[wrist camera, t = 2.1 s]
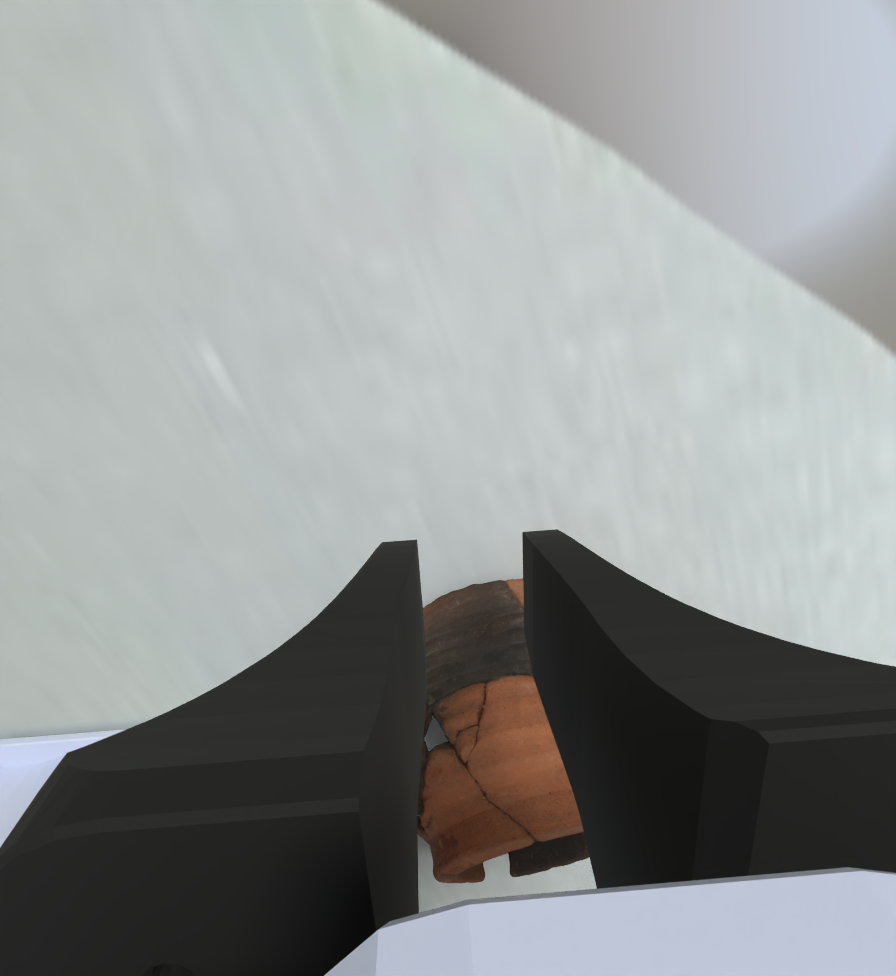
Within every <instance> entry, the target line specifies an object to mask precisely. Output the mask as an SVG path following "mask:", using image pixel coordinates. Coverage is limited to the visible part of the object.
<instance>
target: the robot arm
mask: <svg viewBox="0 0 896 976" xmlns="http://www.w3.org/2000/svg"><path fill="white" fill-rule="evenodd" d="M523 591H524V633H525V638H526V643H527V648H528V653H529V658H530V663H531V668H532V673H533V677H534V681H535V684H536V687H537V690H538V693H539V696H540V699H541V702H542V704H543V707H544V710H545V713H546V716H547V719H548V722H549V725H550V728H551V730H552V733H553V736H554V739H555V742H556V745H557V748H558V750H559V753H560V756H561V759H562V762H563V765H564V768H565V770H566V773H567V776H568V779H569V782H570V785H571V788H572V791H573V794H574V797H575V801H576V804H577V808H578V811H579V814H580V818H581V822H582V827H583V831H584V835H585V839H586V843H587V848H588V852H589V856H590V860H591V865H592V869H593V873H594V877H595V882H596V886H597V889H588V890H577V891H565V892H553V893H542V894H530V895H518V896H507V897H495V898H483V899H472V900H465V901H461V902H458V903H454V904H451V905H447V906H443V907H440V908H436V909H432V910H429V911H425V912H422V913H419V907H418V852H417V817H418V796H419V783H420V771H421V759H422V746H423V734H424V721H425V708H426V695H427V671H426V646H425V631H424V619H423V607H422V595H421V583H420V571H419V559H418V547H417V540H407V541H393V542H382V543H381V544H380V545H379V547H378V548H377V549H376V550H375V551H374V552H373V554H372V555H371V556H370V558H369V559H368V560H367V561H366V563H365V564H364V565H363V566H362V568H361V569H360V570H359V571H358V573H357V574H356V575H355V576H354V577H353V579H352V580H351V581H350V582H349V583H348V584H347V585H346V587H345V588H344V589H343V590H342V591H341V592H340V593H339V595H338V596H337V597H336V598H335V599H334V600H333V601H332V602H331V603H330V604H329V605H328V606H327V607H326V608H325V609H324V610H323V611H322V612H321V613H320V614H319V615H318V616H317V617H316V618H315V619H313V620H312V621H311V622H310V623H309V624H308V625H307V626H305V627H304V628H303V629H302V630H301V631H299V632H298V633H297V634H296V635H294V636H293V637H292V638H290V639H289V640H288V641H287V642H285V643H284V644H283V645H281V646H280V647H279V648H277V649H276V650H275V651H273V652H272V653H270V654H269V655H267V656H266V657H264V658H263V659H261V660H260V661H258V662H256V663H255V664H253V665H252V666H250V667H249V668H247V669H245V670H244V671H242V672H241V673H239V674H237V675H236V676H234V677H233V678H231V679H230V680H228V681H226V682H225V683H223V684H221V685H219V686H217V687H216V688H214V689H212V690H210V691H208V692H206V693H204V694H203V695H201V696H199V697H197V698H195V699H193V700H191V701H189V702H187V703H185V704H183V705H181V706H179V707H177V708H175V709H173V710H171V711H169V712H166V713H164V714H162V715H160V716H158V717H155V718H153V719H151V720H149V721H147V722H144V723H142V724H139V725H137V726H134V727H132V728H129V729H126V730H113V731H100V732H88V733H75V734H62V735H49V736H37V737H24V738H11V739H0V976H896V667H894V666H888V665H882V664H877V663H872V662H868V661H863V660H859V659H855V658H851V657H846V656H842V655H838V654H834V653H829V652H825V651H821V650H817V649H813V648H810V647H806V646H802V645H799V644H795V643H791V642H788V641H784V640H781V639H778V638H775V637H772V636H769V635H766V634H763V633H759V632H756V631H753V630H750V629H747V628H744V627H741V626H738V625H736V624H733V623H730V622H728V621H725V620H722V619H720V618H717V617H715V616H712V615H710V614H708V613H705V612H703V611H701V610H698V609H696V608H694V607H691V606H689V605H686V604H684V603H682V602H680V601H678V600H676V599H674V598H671V597H669V596H667V595H665V594H664V593H662V592H660V591H658V590H656V589H654V588H652V587H650V586H649V585H647V584H645V583H643V582H641V581H639V580H637V579H636V578H634V577H632V576H631V575H629V574H627V573H625V572H624V571H622V570H620V569H619V568H617V567H615V566H614V565H612V564H611V563H609V562H607V561H606V560H604V559H603V558H601V557H600V556H598V555H597V554H595V553H594V552H592V551H590V550H589V549H587V548H586V547H584V546H583V545H581V544H580V543H578V542H577V541H575V540H574V539H572V538H571V537H569V536H568V535H566V534H564V533H563V532H561V531H559V530H545V531H531V532H523Z"/></svg>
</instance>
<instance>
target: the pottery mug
mask: <svg viewBox="0 0 896 976" xmlns="http://www.w3.org/2000/svg"><path fill="white" fill-rule="evenodd" d="M423 619H424V631H425V646H426V671H427V695H426V708H425V721H424V734H423V746H422V759H421V771H420V783H419V796H418V815H420V816H418V817H417V833H418V835H419V836H420V837H422V838H423V839H424V840H425V841H426V842H427V843H428V844H429V845H430V847H431V852H432V857H433V874H434V877H435V879H436V880H437V881H439V882H443V883H444V882H446V883H466V882H469V883H475V882H481V881H483V880H484V878H485V871H484V867H483V862H484V861H487V860H489V859H492V858H494V857H497V856H500V855H503V854H506V853H508V854H509V861H510V875H511V876H512V877H519V876H523V875H530V874H533V873H537V872H541V871H546V870H549V869H551V868H553V867H558V866H564V865H568V864H571V863H574V862H576V861H580V860H584V859H586V858H589V857H590V856H589V852H588V848H587V843H586V839H585V835H584V831H583V827H582V822H581V818H580V814H579V811H578V808H577V804H576V801H575V797H574V794H573V791H572V788H571V785H570V782H569V779H568V776H567V773H566V770H565V768H564V765H563V762H562V759H561V756H560V753H559V750H558V748H557V745H556V742H555V739H554V736H553V733H552V730H551V728H550V725H549V722H548V719H547V716H546V713H545V710H544V707H543V704H542V702H541V699H540V696H539V693H538V690H537V687H536V684H535V681H534V677H533V673H532V668H531V663H530V658H529V653H528V648H527V643H526V638H525V633H524V591H523V579H515V580H513V579H511V580H507V581H502V580H499V581H493V582H488V583H484V584H473V585H470V586H468V587H466V588H463V589H460V590H456V591H452V592H450V593H448V594H446V595H443V596H441V597H439V598H437V599H436V600H434V601H433V602H432V603H431V604H428V605H427V606H426V607H424V608H423ZM432 715H433V716H434V717H435V718H436V719H437V721H438V722H439V724H440V726H441V728H442V730H443V732H444V733H445V736H446V738H447V739H448V740H449V741H448V742H446V743H443V744H440V745H437V746H436V747H434V748H433V749H432V750H431V751H430V752H429V751H428V749H427V746H426V743H425V741H424V737H425V735H426V733H427V730H428V727H429V724H430V721H431V719H432Z"/></svg>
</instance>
